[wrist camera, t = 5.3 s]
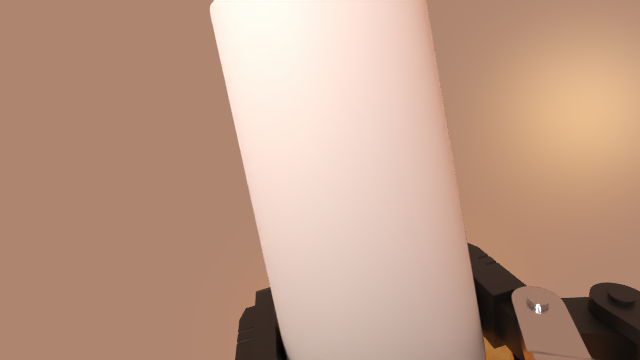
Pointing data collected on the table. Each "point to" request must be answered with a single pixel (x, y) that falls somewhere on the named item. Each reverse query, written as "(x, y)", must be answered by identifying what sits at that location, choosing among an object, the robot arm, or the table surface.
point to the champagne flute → (351, 177)
